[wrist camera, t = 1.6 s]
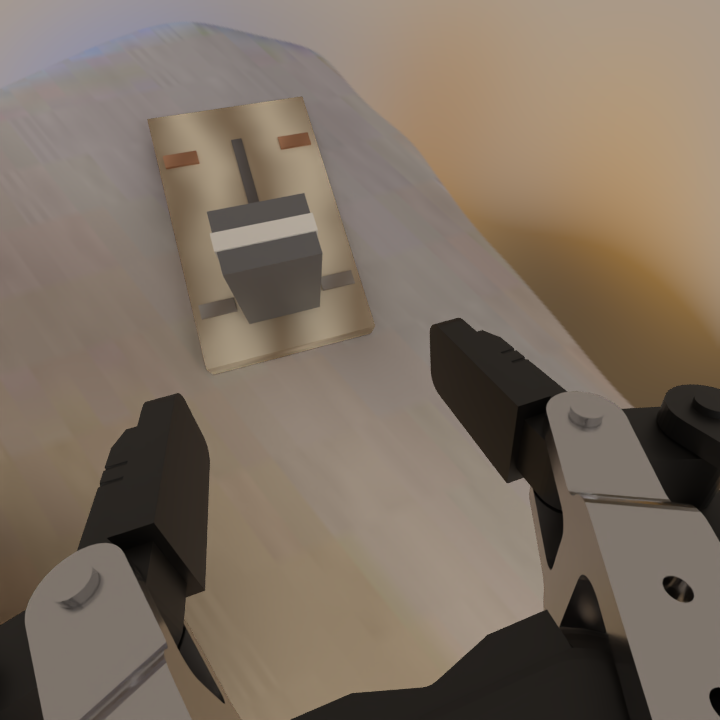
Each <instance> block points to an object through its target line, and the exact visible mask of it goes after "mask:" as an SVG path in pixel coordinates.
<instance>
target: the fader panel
mask: <svg viewBox="0 0 720 720" xmlns="http://www.w3.org/2000/svg"><path fill="white" fill-rule="evenodd" d="M147 120H148V124H149V128H150V132H151V137H152V141H153V145H154V149H155V154H156V158H157V162H158V166H159V171H160V175H161V179H162V183H163V188H164V192H165V196H166V200H167V205H168V209H169V213H170V218H171V222H172V226H173V230H174V235H175V239H176V243H177V247H178V252H179V256H180V260H181V264H182V269H183V273H184V277H185V281H186V286H187V290H188V294H189V298H190V303H191V307H192V311H193V315H194V320H195V324H196V328H197V332H198V337H199V341H200V345H201V349H202V354H203V358H204V362H205V366H206V370H207V371H209V372H210V373H212V374H213V375H215V374H219V373H223V372H227V371H230V370H234V369H238V368H242V367H245V366H249V365H253V364H257V363H261V362H264V361H268V360H272V359H276V358H280V357H283V356H287V355H291V354H295V353H299V352H302V351H306V350H310V349H314V348H318V347H321V346H325V345H329V344H333V343H337V342H340V341H344V340H348V339H352V338H355V337H359V336H363V335H367V334H371V333H372V331H373V329H374V327H375V324H374V321H373V318H372V315H371V312H370V308H369V305H368V302H367V299H366V296H365V293H364V289H363V286H362V283H361V280H360V277H359V274H358V271H357V267H356V264H355V261H354V258H353V255H352V252H351V249H350V245H349V242H348V239H347V236H346V233H345V230H344V227H343V223H342V220H341V217H340V214H339V211H338V208H337V204H336V201H335V198H334V195H333V192H332V189H331V186H330V182H329V179H328V176H327V173H326V170H325V167H324V164H323V160H322V157H321V154H320V151H319V148H318V145H317V141H316V138H315V135H314V132H313V129H312V126H311V123H310V119H309V116H308V113H307V110H306V107H305V104H304V101H303V97H295V98H288V99H282V100H275V101H268V102H261V103H255V104H248V105H241V106H234V107H228V108H221V109H214V110H207V111H201V112H194V113H187V114H180V115H174V116H167V117H160V118H153V119H147ZM301 193H304V194H305V197H306V200H307V204H308V207H309V210H310V213H313V216H314V219H315V222H316V226H317V229H318V240H319V243H320V247H321V250H322V253H323V254H322V275H321V295H320V307H317V308H313V309H309V310H305V311H301V312H297V313H293V314H289V315H285V316H281V317H277V318H273V319H268V320H264V321H260V322H256V323H252V324H249V323H248V321H247V319H246V317H245V315H244V313H243V312H242V310H241V308H240V306H239V304H238V302H237V301H236V299H235V297H234V295H233V293H232V291H231V290H230V288H229V286H228V284H227V282H226V280H225V279H224V277H223V275H222V271H221V267H220V263H219V260H218V258H217V256H216V254H215V252H214V249H213V245H212V241H211V237H210V233H212V231H211V227H210V223H209V219H208V215H207V212H208V211H213V210H218V209H223V208H229V207H234V206H239V205H244V204H249V203H255V202H260V201H265V200H270V199H275V198H281V197H286V196H291V195H296V194H301Z"/></svg>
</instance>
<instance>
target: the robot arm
mask: <svg viewBox="0 0 720 720" xmlns="http://www.w3.org/2000/svg"><path fill="white" fill-rule="evenodd" d="M430 358H431V376H432V380H433V384H434V386H435V388H436V390H437V392H438V394H439V395H440V396H441V398H442V399H443V400H444V402H445V403H446V404H447V406H448V407H449V408H450V410H451V411H452V412H453V413H454V415H455V416H456V417H457V419H458V420H459V421H460V423H461V424H462V425H463V427H464V428H465V429H466V430H467V432H468V433H469V434H470V436H471V437H472V438H473V440H474V441H475V442H476V444H477V445H478V446H479V447H480V449H481V450H482V451H483V453H484V454H485V455H486V457H487V458H488V459H489V461H490V462H491V463H492V464H493V466H494V467H495V468H496V470H497V471H498V472H499V474H500V475H501V476H502V478H503V479H504V480H505V481H506V483H510V482H513V481H515V480H518V479H521V478H525V479H526V481H527V482H528V483H529V484H530V492H529V499H530V505H531V510H532V516H533V522H534V527H535V533H536V539H537V544H538V550H539V556H540V561H541V567H542V573H543V582H544V597H543V606H544V611H542V612H540V613H538V614H535V615H533V616H531V617H528V618H526V619H524V620H521V621H519V622H517V623H514V624H512V625H510V626H507V627H505V628H503V629H500V630H498V631H496V632H493V633H491V634H489V635H487V636H486V637H485V638H484V639H483V640H481V641H480V642H479V643H478V644H477V645H476V646H475V647H474V648H473V649H472V650H470V651H469V652H468V653H467V654H466V655H465V656H464V657H463V658H462V659H461V660H459V661H458V662H457V663H456V664H455V665H454V666H453V667H452V668H451V669H449V670H448V671H447V672H446V673H445V674H444V675H443V676H442V677H441V678H440V679H438V680H437V681H436V682H435V683H433V684H432V685H430V686H427V687H423V688H411V689H399V690H387V691H374V692H362V693H351V694H349V695H347V696H344V697H342V698H340V699H337V700H335V701H333V702H330V703H328V704H326V705H323V706H321V707H319V708H316V709H314V710H312V711H310V712H307V713H305V714H303V715H300V716H298V717H296V718H293V719H291V720H720V490H719V489H720V389H717V388H714V387H709V386H703V385H681V386H676V387H674V388H672V389H670V390H669V391H668V392H667V393H666V395H665V398H664V400H663V403H662V405H661V407H650V408H630V409H621V408H620V407H618V406H617V405H616V404H615V403H613V402H611V401H610V400H608V399H606V398H604V397H601V396H599V395H596V394H592V393H587V392H580V391H570V392H567V391H566V390H565V389H563V388H562V387H561V386H560V385H558V384H557V383H556V382H555V381H553V380H552V379H551V378H550V377H549V376H547V375H546V374H545V373H544V372H542V371H541V370H540V369H539V368H537V367H536V366H535V365H534V364H533V363H531V362H530V361H529V360H528V359H527V360H525V357H524V356H523V355H521V354H520V353H519V352H518V351H517V350H516V351H514V348H513V347H512V346H510V345H509V344H508V343H507V342H505V341H504V340H503V339H502V338H501V337H498V336H495V335H493V334H490V333H488V332H485V331H483V330H482V331H478V332H477V331H475V330H474V329H473V328H472V327H471V326H470V325H469V324H467V323H466V322H465V321H464V320H463V319H461V318H456V319H452V320H448V321H445V322H441V323H437V324H434V325H432V326H431V328H430ZM105 469H106V471H103V474H102V477H101V480H100V487H99V488H98V490H97V493H96V496H95V499H94V502H93V505H92V508H91V511H90V514H89V517H88V520H87V523H86V526H85V529H84V532H83V535H82V538H81V541H80V544H79V547H78V550H77V552H75V553H73V554H72V555H70V556H68V557H67V558H65V559H64V560H63V561H61V562H60V563H59V564H58V565H57V566H55V567H54V568H53V569H52V570H51V571H50V572H49V573H48V574H47V575H46V576H45V577H44V579H43V580H42V581H41V582H40V584H39V585H38V586H37V588H36V589H35V591H34V593H33V594H32V596H31V598H30V600H29V602H28V605H27V608H26V610H25V611H23V612H22V613H20V614H18V615H17V616H15V617H13V618H12V619H10V620H8V621H7V622H5V623H3V624H2V625H0V720H242V719H241V718H240V716H239V715H238V713H237V712H236V710H235V708H234V707H233V705H232V703H231V702H230V700H229V698H228V696H227V694H226V693H225V691H224V689H223V687H222V685H221V683H220V682H219V680H218V678H217V676H216V674H215V672H214V671H213V669H212V667H211V665H210V663H209V661H208V660H207V658H206V656H205V654H204V652H203V650H202V649H201V647H200V645H199V643H198V641H197V639H196V638H195V636H194V634H193V632H192V630H191V628H190V627H189V625H188V623H187V622H186V621H185V620H184V613H185V600H186V597H188V596H191V595H194V594H197V593H200V592H202V591H205V576H206V549H207V523H208V496H209V470H210V458H209V452H208V447H207V444H206V441H205V439H204V437H203V435H202V433H201V431H200V429H199V427H198V425H197V423H196V421H195V419H194V417H193V415H192V413H191V411H190V409H189V407H188V405H187V403H186V401H185V399H184V398H183V396H182V395H181V394H179V393H177V394H173V395H170V396H166V397H162V398H158V399H155V400H151V401H147V402H145V403H144V404H143V407H142V411H141V414H140V418H139V422H138V425H137V427H133V428H130V429H126V430H125V432H124V433H123V434H122V435H121V437H120V438H119V439H118V440H117V442H116V443H115V444H114V445H113V447H112V448H111V450H110V453H109V456H108V459H107V462H106V465H105Z"/></svg>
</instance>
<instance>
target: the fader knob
mask: <svg viewBox="0 0 720 720" xmlns="http://www.w3.org/2000/svg"><path fill="white" fill-rule="evenodd" d="M207 215H208V219H209V223H210V227H211V231H212V233H210V237H211V241H212V245H213V249H214V252H215V254H216V256H217V258H218V260H219V263H220V267H221V271H222V275H223V277H224V279H225V280H226V282H227V284H228V286H229V288H230V290H231V291H232V293H233V295H234V297H235V299H236V301H237V302H238V304H239V306H240V308H241V310H242V312H243V313H244V315H245V317H246V319H247V321H248V323H249V324H252V323H256V322H260V321H264V320H268V319H273V318H277V317H281V316H285V315H289V314H293V313H297V312H301V311H305V310H309V309H313V308H317V307H320V295H321V275H322V254H323V253H322V250H321V247H320V243H319V240H318V229H317V226H316V222H315V219H314V216H313V213H310V210H309V207H308V204H307V200H306V197H305V194H304V193H301V194H296V195H291V196H286V197H281V198H275V199H270V200H265V201H260V202H255V203H249V204H244V205H239V206H234V207H229V208H223V209H218V210H213V211H208V212H207Z"/></svg>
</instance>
